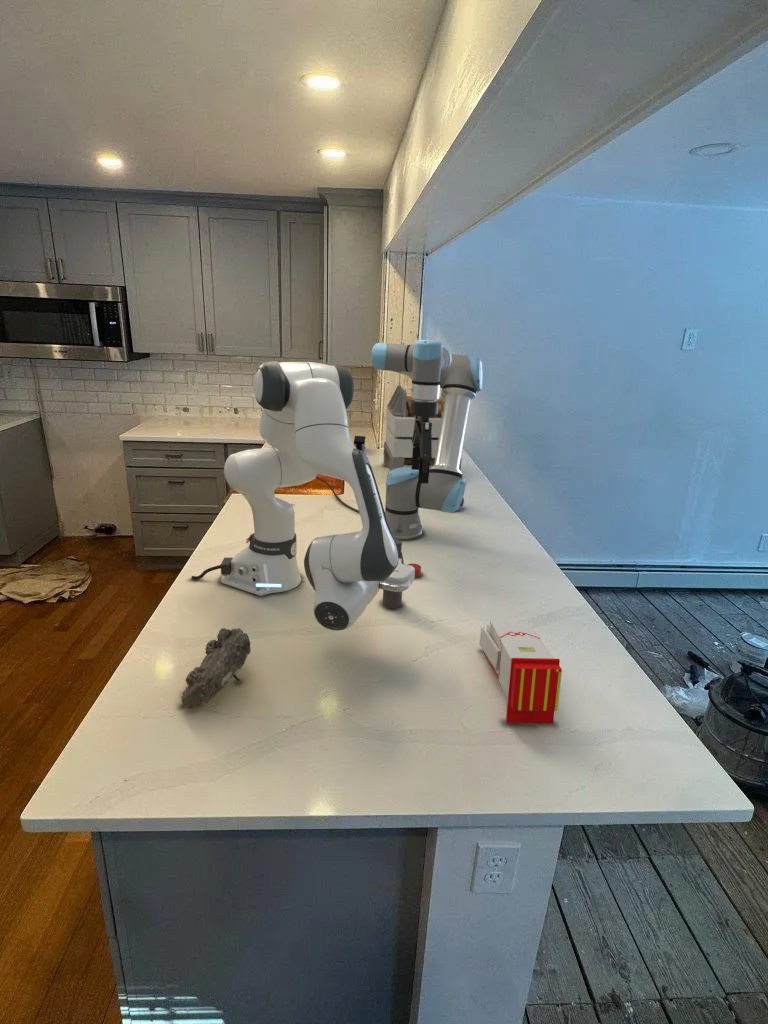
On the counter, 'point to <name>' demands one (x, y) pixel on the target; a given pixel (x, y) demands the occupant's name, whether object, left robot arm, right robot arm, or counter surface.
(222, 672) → the fossil
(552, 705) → the toy
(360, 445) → the figurine character
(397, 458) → the white wooden crate
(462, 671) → the counter surface
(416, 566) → the cap
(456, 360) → the right robot arm
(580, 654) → the counter surface
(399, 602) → the bottle
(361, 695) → the counter surface
